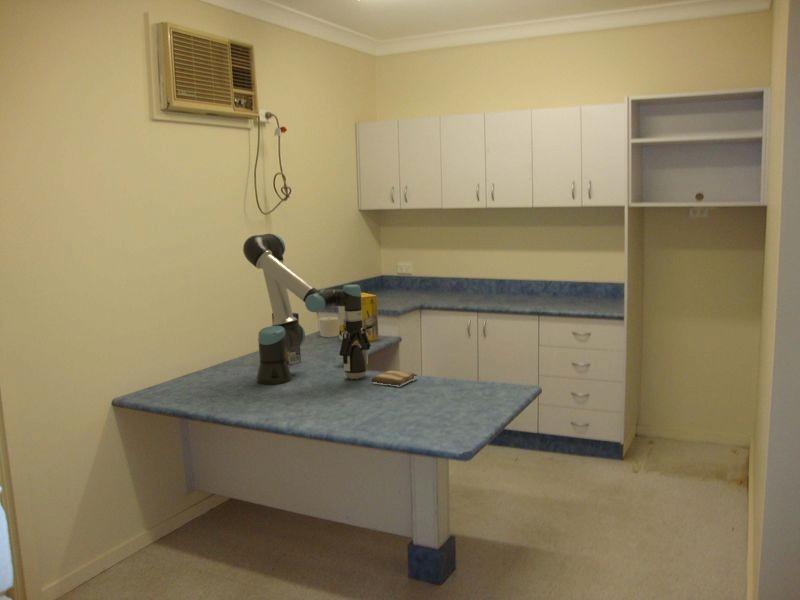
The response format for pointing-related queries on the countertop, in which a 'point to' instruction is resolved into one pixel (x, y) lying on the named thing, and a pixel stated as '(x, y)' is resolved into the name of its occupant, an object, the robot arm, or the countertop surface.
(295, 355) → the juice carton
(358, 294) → the robot arm
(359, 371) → the pump dispenser
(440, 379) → the countertop surface
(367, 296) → the packaging box
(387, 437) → the countertop surface
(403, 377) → the stand
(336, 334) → the toilet tissue
